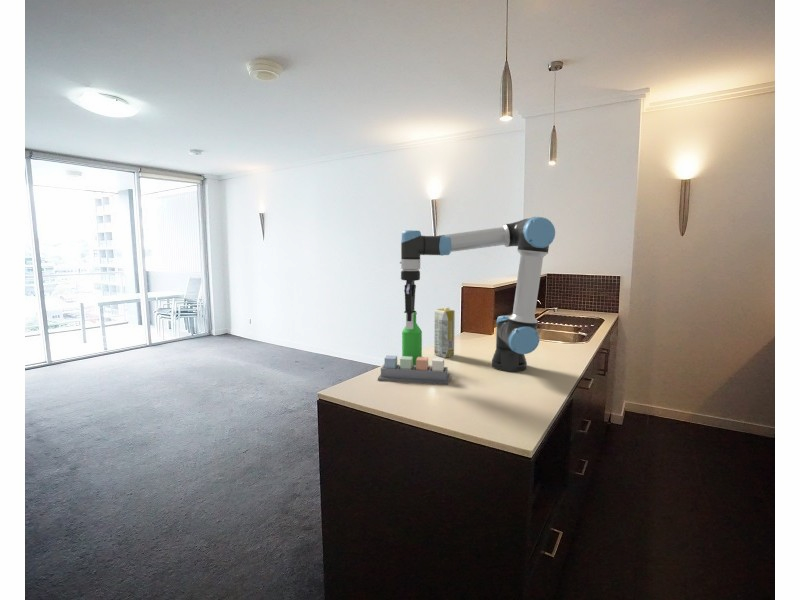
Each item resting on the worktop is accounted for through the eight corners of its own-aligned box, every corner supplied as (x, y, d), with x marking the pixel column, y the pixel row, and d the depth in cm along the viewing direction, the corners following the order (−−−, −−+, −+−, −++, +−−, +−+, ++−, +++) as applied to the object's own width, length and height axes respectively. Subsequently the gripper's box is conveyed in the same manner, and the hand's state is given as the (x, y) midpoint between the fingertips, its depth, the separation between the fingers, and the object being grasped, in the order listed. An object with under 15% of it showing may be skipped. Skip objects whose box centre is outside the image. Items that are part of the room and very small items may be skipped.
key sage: (412, 368, 168) (412, 356, 167) (410, 371, 163) (410, 359, 163) (402, 367, 169) (402, 356, 168) (400, 371, 164) (400, 359, 164)
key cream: (444, 370, 165) (444, 358, 164) (443, 373, 161) (443, 361, 160) (433, 369, 166) (433, 357, 165) (432, 372, 162) (432, 360, 161)
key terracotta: (428, 369, 166) (428, 357, 166) (426, 372, 162) (426, 360, 161) (417, 368, 167) (417, 356, 167) (416, 371, 163) (416, 359, 162)
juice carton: (456, 356, 197) (457, 307, 194) (444, 359, 193) (444, 309, 190) (444, 352, 205) (444, 305, 202) (431, 354, 201) (432, 306, 197)
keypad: (449, 375, 168) (449, 365, 168) (447, 384, 158) (447, 373, 157) (384, 372, 174) (384, 362, 173) (377, 380, 163) (377, 370, 163)
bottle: (420, 368, 179) (420, 312, 175) (400, 367, 181) (400, 312, 177) (422, 362, 187) (423, 309, 184) (404, 361, 189) (404, 308, 186)
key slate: (397, 367, 169) (397, 355, 168) (395, 370, 165) (395, 358, 164) (387, 367, 170) (386, 355, 169) (384, 370, 166) (384, 358, 165)
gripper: (404, 268, 167) (403, 325, 170) (397, 270, 154) (397, 331, 158) (422, 269, 166) (421, 325, 169) (417, 271, 153) (416, 332, 156)
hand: (409, 328), depth 163 cm, fingers closed
